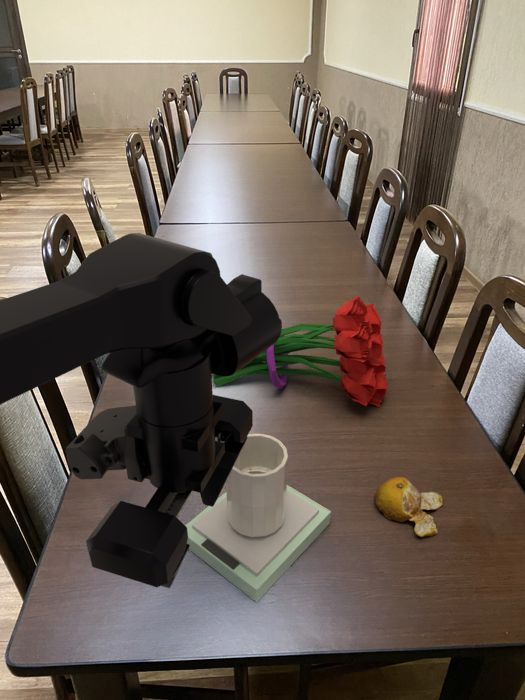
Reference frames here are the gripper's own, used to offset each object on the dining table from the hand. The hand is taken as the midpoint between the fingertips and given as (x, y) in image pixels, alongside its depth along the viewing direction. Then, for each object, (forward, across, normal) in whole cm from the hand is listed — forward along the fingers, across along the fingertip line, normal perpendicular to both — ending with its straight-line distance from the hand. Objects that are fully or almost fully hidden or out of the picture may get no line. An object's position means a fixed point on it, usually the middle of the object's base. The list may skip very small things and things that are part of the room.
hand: (188, 541), depth 48 cm
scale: (+13, -13, +2) cm, 19 cm away
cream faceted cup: (+10, -13, +2) cm, 17 cm away
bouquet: (+13, -44, -2) cm, 46 cm away
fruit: (+13, -22, +20) cm, 32 cm away
